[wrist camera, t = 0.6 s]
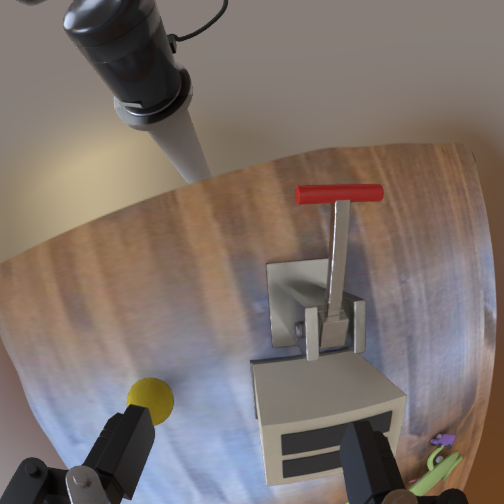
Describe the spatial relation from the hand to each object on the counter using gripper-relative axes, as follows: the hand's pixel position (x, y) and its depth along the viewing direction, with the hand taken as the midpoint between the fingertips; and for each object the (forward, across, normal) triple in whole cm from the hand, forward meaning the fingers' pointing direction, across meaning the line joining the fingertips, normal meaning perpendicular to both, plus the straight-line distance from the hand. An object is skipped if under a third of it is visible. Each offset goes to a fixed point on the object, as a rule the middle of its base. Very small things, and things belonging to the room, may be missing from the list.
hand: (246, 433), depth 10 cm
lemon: (+20, +12, +17) cm, 29 cm away
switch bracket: (+24, -5, +5) cm, 25 cm away
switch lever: (+14, -5, -3) cm, 15 cm away
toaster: (+21, -7, +16) cm, 27 cm away
